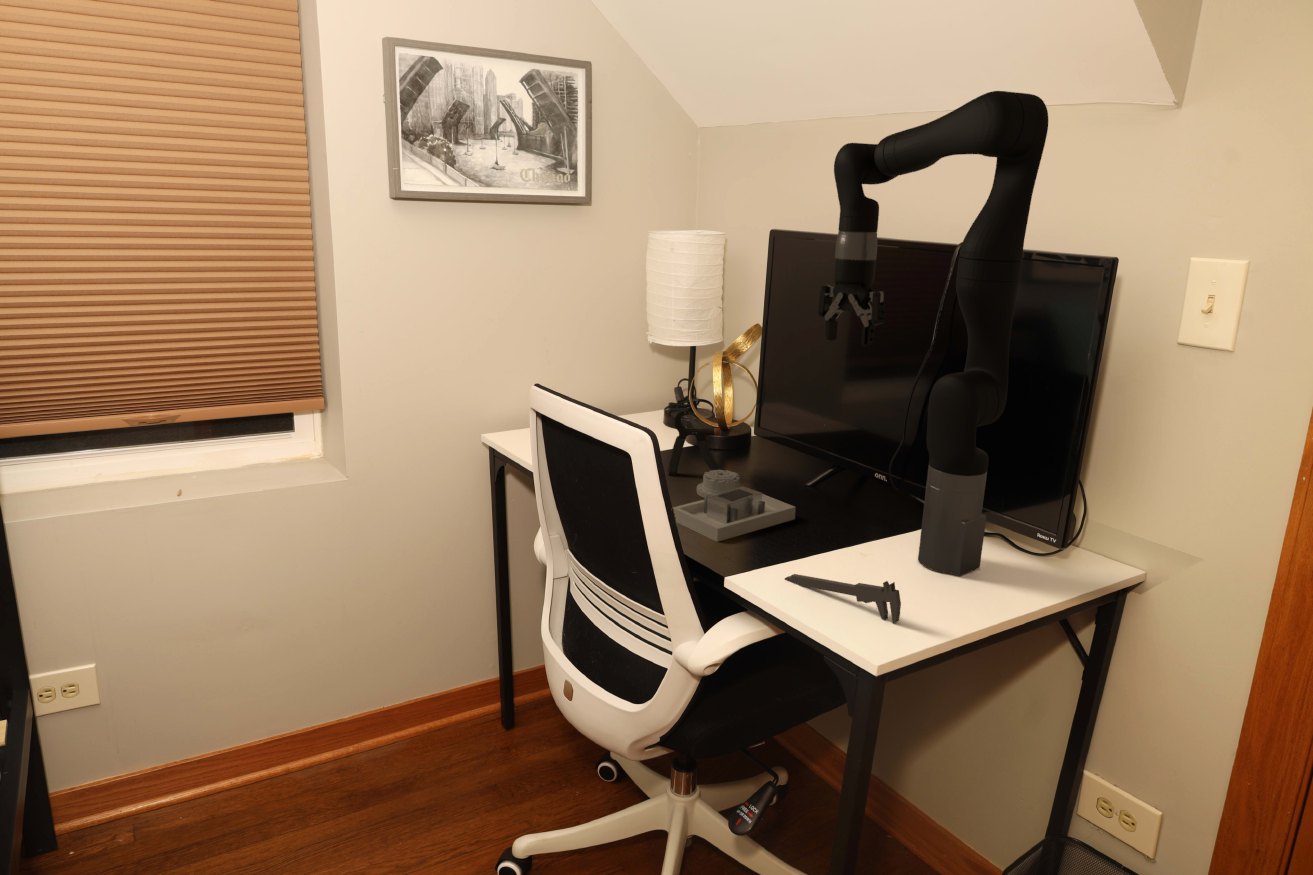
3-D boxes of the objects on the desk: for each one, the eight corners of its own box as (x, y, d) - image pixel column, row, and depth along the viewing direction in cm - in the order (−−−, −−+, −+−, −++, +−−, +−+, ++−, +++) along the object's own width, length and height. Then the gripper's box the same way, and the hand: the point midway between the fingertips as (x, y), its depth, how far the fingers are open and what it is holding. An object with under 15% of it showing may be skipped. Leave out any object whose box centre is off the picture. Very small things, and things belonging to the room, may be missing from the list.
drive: (761, 512, 167) (762, 492, 166) (726, 524, 161) (727, 503, 160) (741, 505, 171) (742, 485, 170) (706, 517, 164) (707, 496, 163)
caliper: (899, 624, 127) (903, 584, 126) (895, 626, 127) (899, 587, 125) (788, 579, 141) (790, 543, 140) (783, 581, 141) (786, 544, 139)
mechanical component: (707, 504, 174) (752, 500, 178) (708, 483, 173) (753, 479, 176) (689, 488, 184) (732, 485, 187) (690, 469, 182) (733, 465, 186)
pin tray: (794, 519, 167) (796, 499, 166) (717, 541, 155) (718, 520, 154) (747, 500, 177) (748, 481, 176) (671, 520, 165) (672, 500, 164)
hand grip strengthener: (723, 481, 189) (726, 414, 184) (667, 476, 191) (668, 409, 187) (725, 477, 191) (728, 411, 187) (669, 472, 193) (670, 407, 189)
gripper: (899, 259, 158) (891, 347, 163) (839, 253, 169) (832, 336, 173) (873, 260, 154) (865, 350, 158) (813, 254, 164) (806, 339, 169)
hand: (848, 343), depth 166 cm, fingers open, 8 cm apart
